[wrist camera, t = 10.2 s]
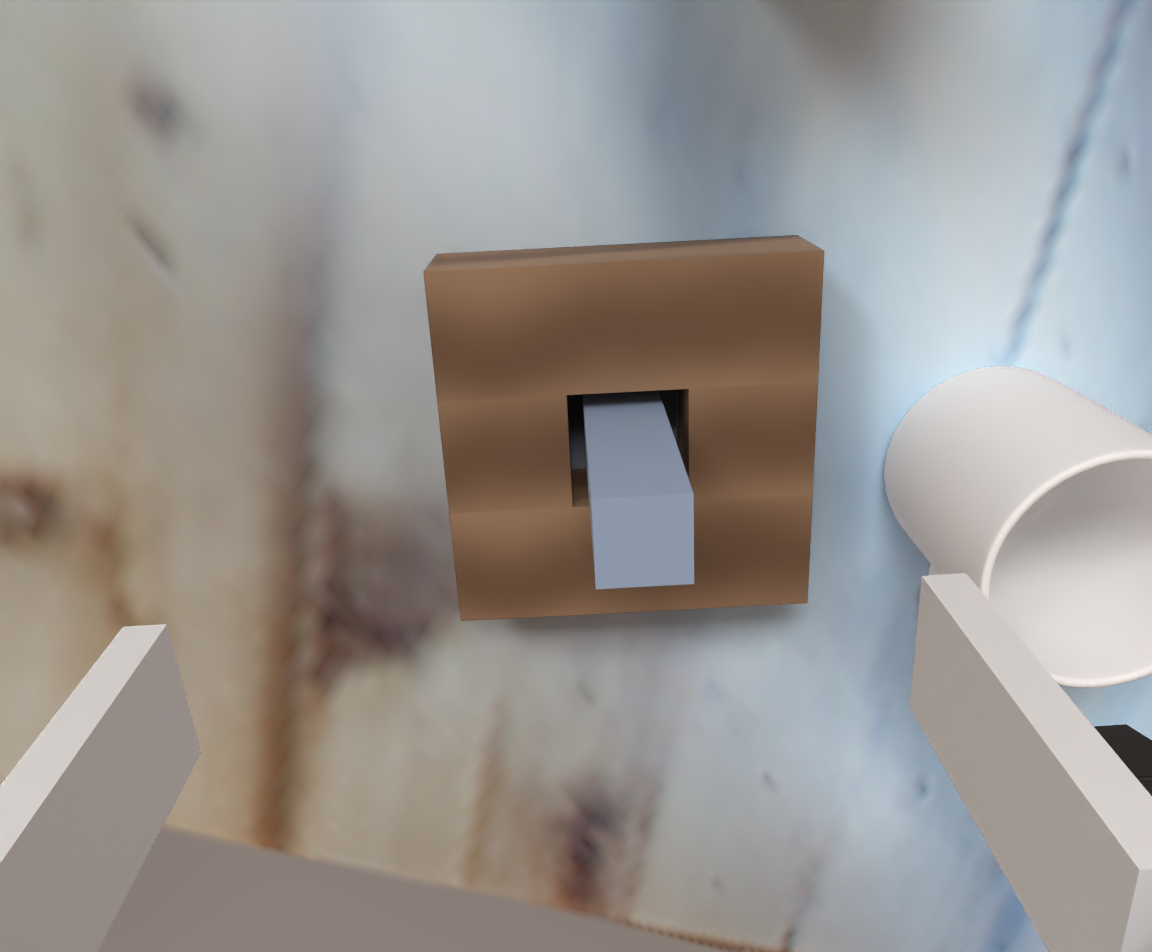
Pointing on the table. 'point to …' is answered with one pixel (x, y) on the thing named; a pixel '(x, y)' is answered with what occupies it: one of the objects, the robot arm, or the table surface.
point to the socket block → (627, 364)
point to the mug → (1035, 514)
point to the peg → (637, 493)
